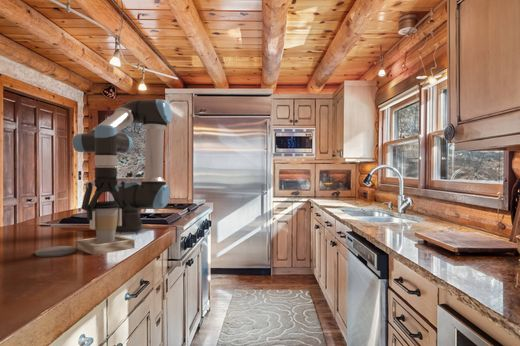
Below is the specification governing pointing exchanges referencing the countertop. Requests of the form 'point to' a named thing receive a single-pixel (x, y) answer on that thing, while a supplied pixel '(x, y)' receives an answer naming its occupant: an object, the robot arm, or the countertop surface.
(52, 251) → the disc
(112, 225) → the coffee cup
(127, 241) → the frame
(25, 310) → the countertop surface
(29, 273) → the countertop surface
